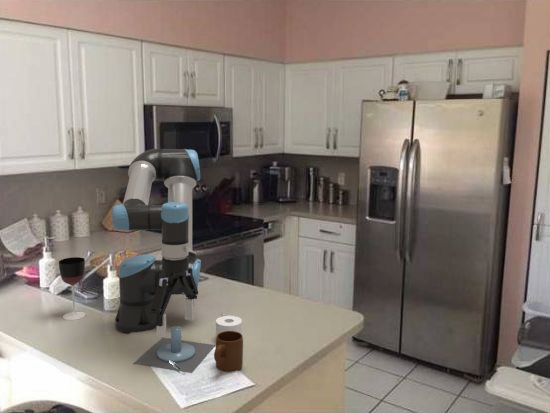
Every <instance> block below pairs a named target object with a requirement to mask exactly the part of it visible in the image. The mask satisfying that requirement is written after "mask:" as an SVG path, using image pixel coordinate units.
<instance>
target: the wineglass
mask: <svg viewBox="0 0 550 413" xmlns="http://www.w3.org/2000/svg"><path fill="white" fill-rule="evenodd" d="M85 260H86V259H85V258H84V257H80V256H78V257H73V256H72V257H66V258H63V259H60V260H59V261H58V269H59V274H60V278H61V281H63V282H64V283H66V284H67V285H71V298H72V312H71V311H70V312H67V313H65V314H63V315H62V318H63V319H64V320H67V321H72V320H73V321H75V320H79V319H82V318H84V317H86V315H87V314H86V312H83V311H76V298H75V296H76V295H75V294H76V293H75V285H76V284H78V283H79V282H81V280H83V278H84V275H85V267H86V266H85V265H86V263H85V262H86V261H85Z"/></svg>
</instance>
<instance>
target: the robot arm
mask: <svg viewBox="0 0 550 413" xmlns="http://www.w3.org/2000/svg"><path fill="white" fill-rule="evenodd" d="M127 175H128V177H129V179H128V183H127V186H126V191H125V194H124V197H123V198H124V199H123V201H122V204H116V205H114V206H113V208H112V212H111V214H112V216H111V221H112V227H113V228H114V229H115V230H116V231H126V232H128V231H161V256H162V258H161V259H156V256H155V255H154V254H153V255H152V254H140V255H139V254H138V255H135V256H134V255H133V256H131V257H127V258H126V259H124V260H122V261H121V262H120V263H119V268H118V270H119V271H118V279H119V281H118V282H119V307H118V309H117V312H116V316H115V319H114V328H115V329H116V330H117V331H119V332H121V333H125V334H131V333H142V332H147V331H151V330H154V329H156V337H161V338H162V337H163V338H167V314H166V313H165V312H166V309H167V308H168V304H169V303H170V300H171V298H172V296H174V295H175V296H176V295H182V296H185V297H186V298H184V320H186V321H194V320H195V318H194V313H195V312H194V311H195V310H194V307H195V305H194V304H195V300H197V299H198V295H199V290H198V287H199V282H200V273H201V266H202V260H201V259H199V258H198V256H197V254H198V253H196V252H195V251H194V250H193V189H194V188H195V187H196V186H197V182H198V181H200V180H201V170H200V162H199V155H198V152H197V151H196V150H194V149H186V148H184V149H183V148H182V149H177V148H175V149H174V148H152V149H148V150H145V151H143V152H141V153H140V154H138V155H137V156H136V157H135V158H133V160H132V161H131V162H130V165H129V167H128V170H127ZM155 181H163V184H164V186H165V187H166V188H167V189H168V190H167V202H165V203H163V204H149V202H150V197H151V196H150V195H151V190H152V183H153V182H155Z"/></svg>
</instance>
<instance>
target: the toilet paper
mask: <svg viewBox="0 0 550 413" xmlns="http://www.w3.org/2000/svg"><path fill="white" fill-rule="evenodd" d="M220 315H221V316H219V317H218V318H216V320H215V338H216V337H217V335H218V334H219V333H221V332H224V331H235V332H239V333H241V334H242V335H243V333H242V332H243V319H242V318H240V317H239V316H236V315H230V314H229V315H228V314H224V313H221V314H220Z"/></svg>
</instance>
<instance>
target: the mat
mask: <svg viewBox="0 0 550 413" xmlns="http://www.w3.org/2000/svg"><path fill="white" fill-rule="evenodd" d="M170 343H171V337H169V338H168V337H161V338H160V339H159V340H158V341H157V342H156V343H154V344H153V345H152V346H151V347H150V348H148V350H146V351H145V352H144V353H143V354H142V355H141V356H139V358H137V359H136V360H135V361H134V362H133V363H132V365H140V366H145V367H152V368H158V369H163V370H170V371H176V372H183V373H188V374H192V373H193V372H194V371H196V369H197V367H199V366H200V364H201V363H202V362H203V361H204V359H206V358H207V356H209V354H210V353H211V351H212V350H213V349H214V348H216V344H209V343H203V342H195V341H191V340H182V339H181V343H187V344H190V345H192V346H193V347H194V348H195V355H194V356H193V357H192V358H191V359H189V360H187V361H183V362H177V363H176V364H177V365H178V367H179V368H180V369H176V368H174V367H173V365H172V364H170V363H169V362H164V361H162V360H160V359H159V358H158V357H157V350H158V349H159V348H160V347H161V346H163V345H166V344H170Z"/></svg>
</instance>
